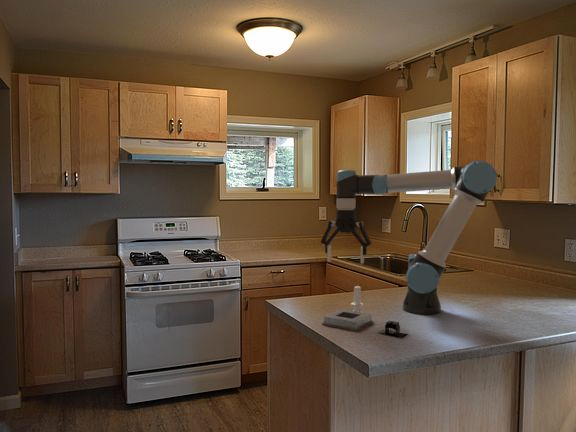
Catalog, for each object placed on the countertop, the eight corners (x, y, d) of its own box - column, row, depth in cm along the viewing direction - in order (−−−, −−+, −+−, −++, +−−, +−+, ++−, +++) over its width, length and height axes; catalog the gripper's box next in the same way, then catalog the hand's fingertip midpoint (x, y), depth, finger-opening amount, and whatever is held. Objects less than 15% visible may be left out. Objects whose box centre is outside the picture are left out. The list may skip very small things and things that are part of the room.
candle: (365, 315, 195) (366, 284, 195) (361, 318, 191) (362, 287, 190) (352, 313, 198) (353, 283, 197) (348, 316, 193) (348, 285, 192)
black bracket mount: (371, 334, 172) (371, 321, 172) (380, 329, 178) (380, 317, 178) (405, 341, 165) (405, 327, 165) (413, 336, 171) (413, 323, 171)
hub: (373, 322, 185) (373, 314, 185) (357, 331, 173) (357, 322, 173) (339, 316, 193) (339, 308, 192) (322, 324, 181) (322, 316, 181)
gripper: (379, 209, 196) (378, 262, 197) (319, 208, 205) (319, 259, 207) (374, 210, 189) (374, 265, 190) (313, 209, 199) (313, 261, 200)
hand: (345, 262), depth 199 cm, fingers open, 13 cm apart
